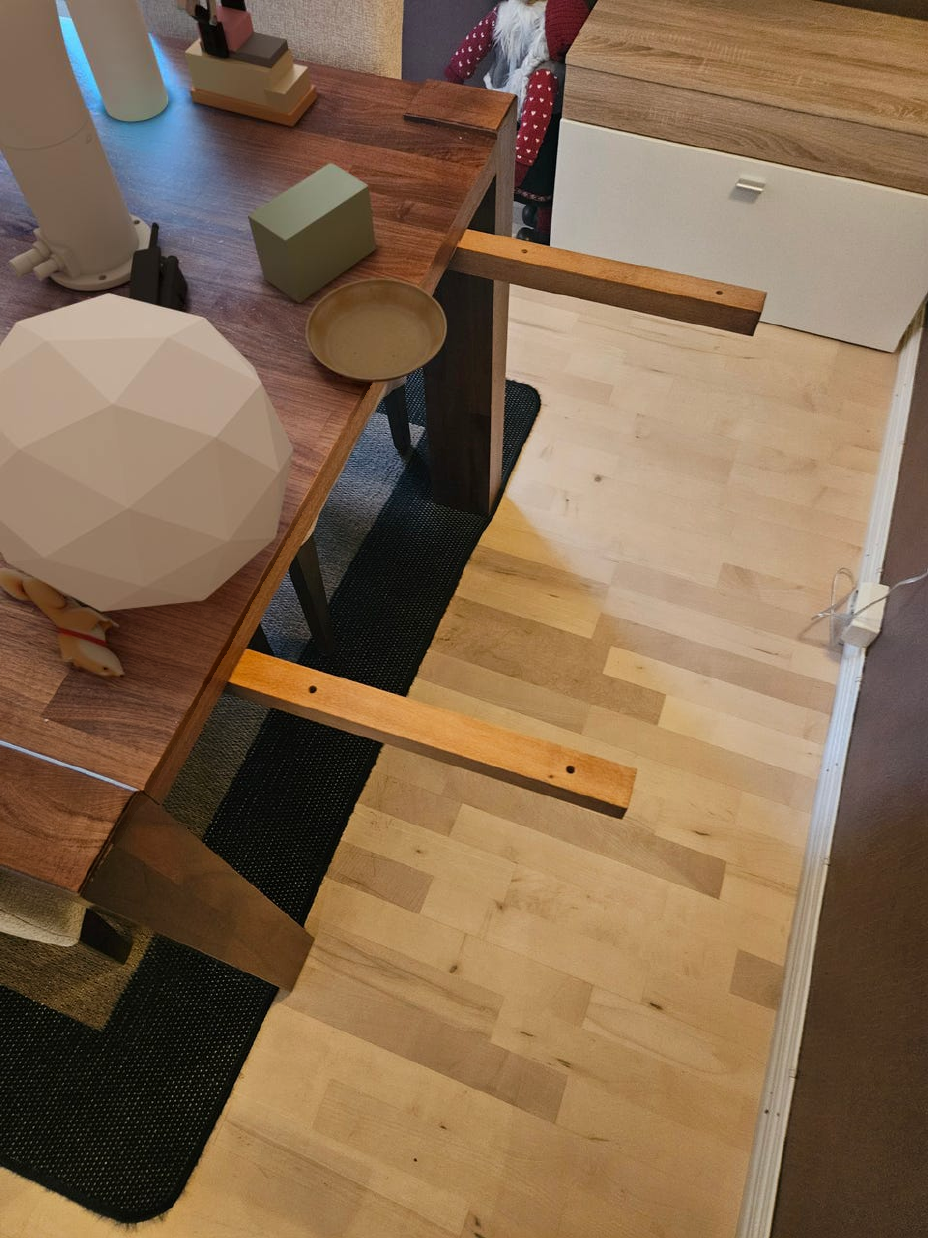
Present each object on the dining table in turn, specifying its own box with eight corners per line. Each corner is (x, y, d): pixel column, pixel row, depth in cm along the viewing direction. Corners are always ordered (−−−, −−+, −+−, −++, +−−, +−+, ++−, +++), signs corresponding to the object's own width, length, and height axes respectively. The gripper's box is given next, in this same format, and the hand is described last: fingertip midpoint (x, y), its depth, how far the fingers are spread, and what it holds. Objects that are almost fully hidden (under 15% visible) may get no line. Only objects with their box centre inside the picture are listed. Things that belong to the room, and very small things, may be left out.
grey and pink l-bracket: (288, 49, 106) (283, 19, 103) (271, 68, 104) (265, 38, 101) (220, 33, 108) (213, 3, 105) (201, 51, 106) (193, 22, 103)
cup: (175, 86, 113) (133, -54, 99) (159, 123, 109) (113, -18, 95) (116, 83, 113) (65, -57, 99) (97, 119, 110) (42, -21, 96)
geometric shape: (-103, 339, 67) (-139, 595, 55) (136, 163, 60) (156, 410, 48) (124, 486, 87) (136, 700, 74) (324, 366, 80) (373, 579, 68)
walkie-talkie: (189, 344, 87) (202, 213, 96) (128, 319, 83) (147, 186, 92) (169, 379, 91) (183, 251, 100) (110, 358, 88) (129, 227, 97)
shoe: (317, 97, 112) (309, 48, 106) (292, 126, 109) (283, 78, 103) (219, 73, 114) (207, 24, 109) (192, 101, 111) (178, 53, 106)
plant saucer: (472, 327, 91) (472, 307, 89) (400, 416, 85) (398, 398, 83) (359, 280, 95) (356, 261, 93) (282, 364, 89) (277, 345, 87)
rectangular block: (299, 303, 93) (285, 240, 86) (263, 278, 95) (247, 214, 88) (376, 249, 97) (369, 185, 90) (340, 226, 99) (330, 161, 92)
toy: (157, 648, 72) (123, 698, 72) (23, 559, 78) (-10, 604, 77) (136, 638, 69) (100, 689, 68) (-3, 546, 74) (-38, 593, 74)
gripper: (173, -97, 86) (220, 86, 102) (254, -166, 93) (286, 15, 109) (111, -110, 87) (167, 73, 104) (196, -177, 95) (236, 4, 111)
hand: (228, 42), depth 106 cm, fingers closed on grey and pink l-bracket, 4 cm apart
